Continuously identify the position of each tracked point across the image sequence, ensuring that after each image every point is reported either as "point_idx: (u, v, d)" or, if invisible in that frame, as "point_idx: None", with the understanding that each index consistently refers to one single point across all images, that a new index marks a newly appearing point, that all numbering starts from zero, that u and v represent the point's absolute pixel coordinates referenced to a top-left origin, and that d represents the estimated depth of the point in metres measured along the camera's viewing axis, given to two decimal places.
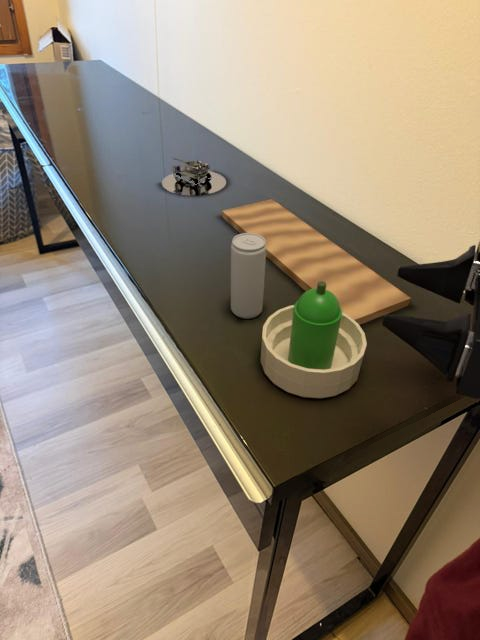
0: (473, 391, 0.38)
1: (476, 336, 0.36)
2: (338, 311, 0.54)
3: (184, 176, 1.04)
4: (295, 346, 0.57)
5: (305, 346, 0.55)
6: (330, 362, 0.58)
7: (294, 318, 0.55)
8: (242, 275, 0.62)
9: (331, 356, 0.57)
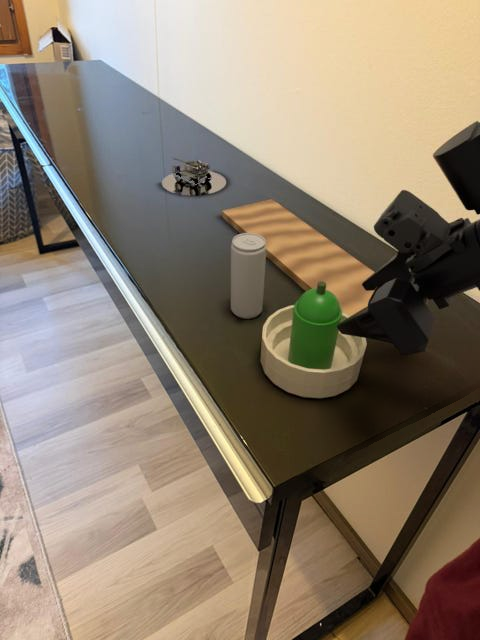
0: (409, 346, 0.40)
1: (371, 301, 0.41)
2: (338, 311, 0.54)
3: (184, 176, 1.04)
4: (295, 346, 0.57)
5: (305, 346, 0.55)
6: (330, 362, 0.58)
7: (294, 318, 0.55)
8: (242, 275, 0.62)
9: (331, 356, 0.57)
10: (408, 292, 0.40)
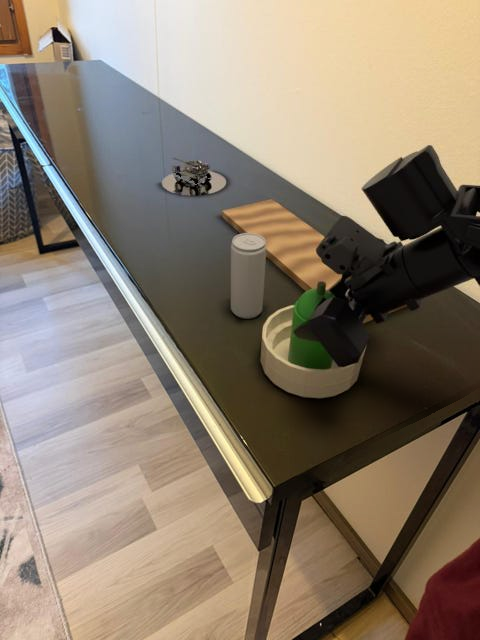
0: (343, 358, 0.45)
1: (310, 317, 0.45)
2: None
3: (184, 176, 1.04)
4: (295, 346, 0.57)
5: (305, 346, 0.55)
6: (330, 362, 0.58)
7: (294, 318, 0.55)
8: (242, 275, 0.62)
9: None
10: (342, 310, 0.45)
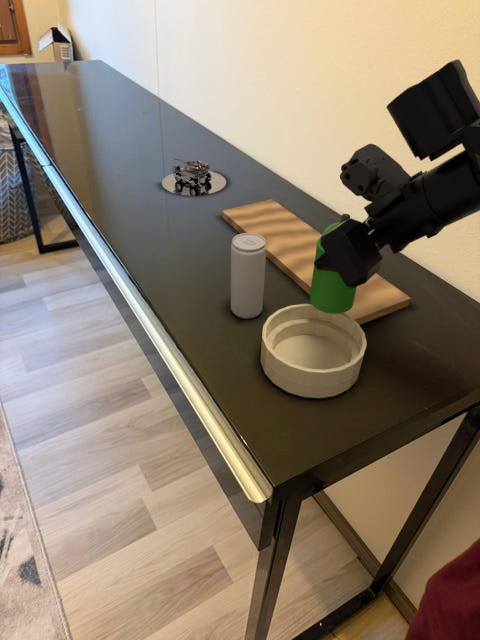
0: (351, 276, 0.45)
1: (323, 235, 0.46)
2: None
3: (184, 176, 1.04)
4: (316, 280, 0.57)
5: (324, 279, 0.56)
6: (350, 301, 0.58)
7: (316, 250, 0.56)
8: (242, 275, 0.62)
9: (351, 295, 0.58)
10: (355, 229, 0.45)
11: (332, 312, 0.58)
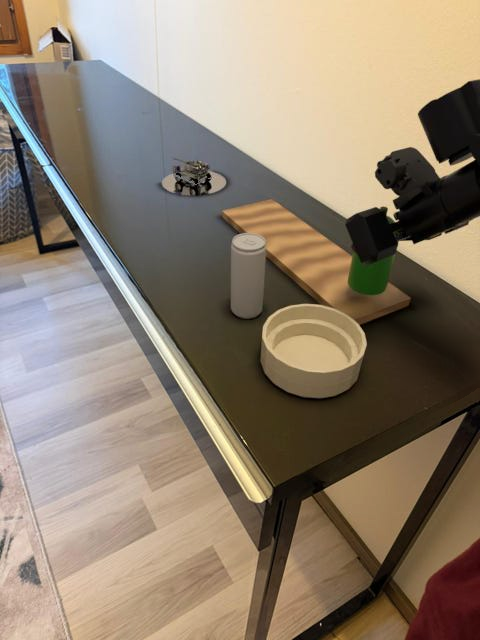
0: (365, 254, 0.54)
1: None
2: None
3: (184, 176, 1.04)
4: (352, 262, 0.66)
5: (358, 262, 0.64)
6: (380, 286, 0.66)
7: None
8: (242, 275, 0.62)
9: (381, 280, 0.65)
10: (376, 215, 0.54)
11: (362, 293, 0.67)
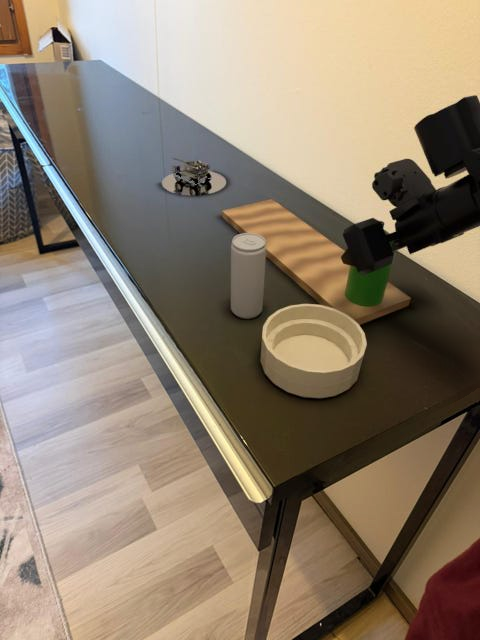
0: (361, 264, 0.55)
1: (347, 228, 0.56)
2: None
3: (184, 176, 1.04)
4: (349, 274, 0.67)
5: (355, 274, 0.66)
6: (377, 298, 0.67)
7: None
8: (242, 275, 0.62)
9: (378, 292, 0.67)
10: (373, 226, 0.55)
11: (359, 304, 0.68)
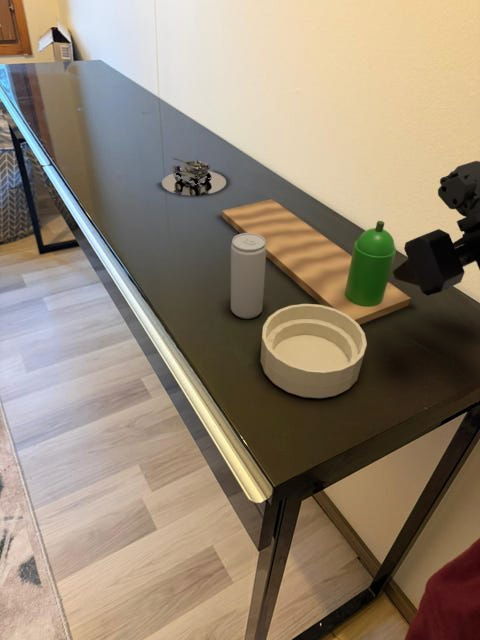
0: (427, 283, 0.48)
1: (408, 241, 0.49)
2: (389, 250, 0.63)
3: (184, 176, 1.04)
4: (349, 274, 0.67)
5: (355, 274, 0.66)
6: (377, 298, 0.67)
7: (353, 249, 0.66)
8: (242, 275, 0.62)
9: (378, 292, 0.67)
10: (441, 239, 0.47)
11: (359, 304, 0.68)
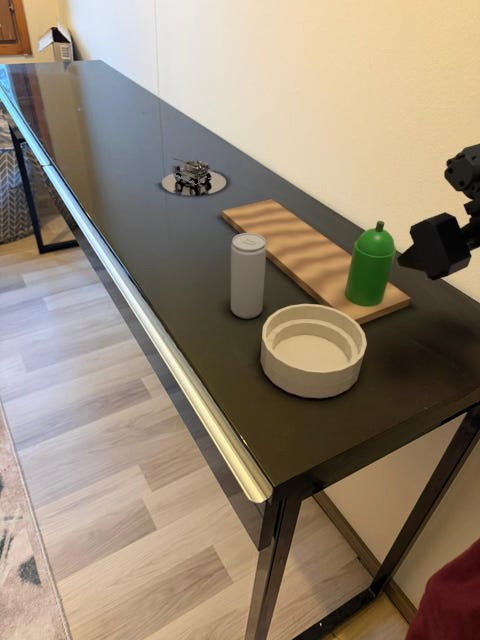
0: (433, 268, 0.46)
1: (414, 224, 0.48)
2: (389, 250, 0.63)
3: (184, 176, 1.04)
4: (349, 274, 0.67)
5: (355, 274, 0.66)
6: (377, 298, 0.67)
7: (353, 249, 0.66)
8: (242, 275, 0.62)
9: (378, 292, 0.67)
10: (447, 222, 0.46)
11: (359, 304, 0.68)
